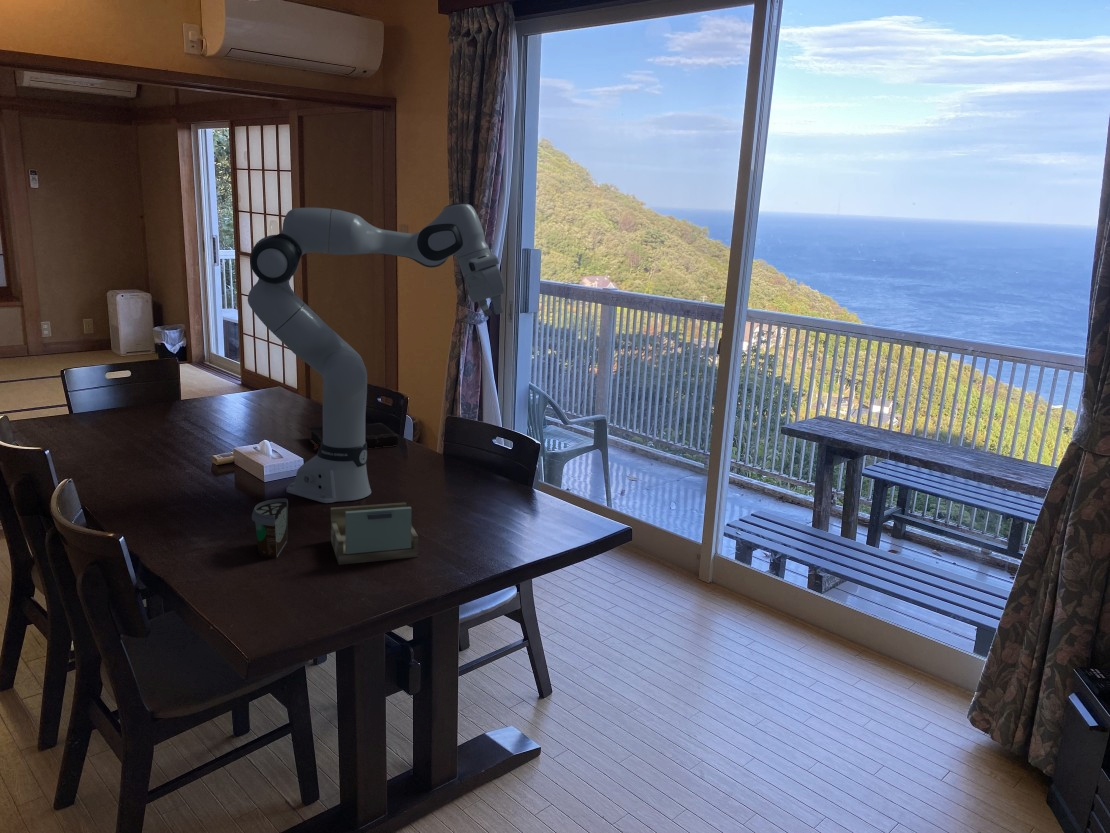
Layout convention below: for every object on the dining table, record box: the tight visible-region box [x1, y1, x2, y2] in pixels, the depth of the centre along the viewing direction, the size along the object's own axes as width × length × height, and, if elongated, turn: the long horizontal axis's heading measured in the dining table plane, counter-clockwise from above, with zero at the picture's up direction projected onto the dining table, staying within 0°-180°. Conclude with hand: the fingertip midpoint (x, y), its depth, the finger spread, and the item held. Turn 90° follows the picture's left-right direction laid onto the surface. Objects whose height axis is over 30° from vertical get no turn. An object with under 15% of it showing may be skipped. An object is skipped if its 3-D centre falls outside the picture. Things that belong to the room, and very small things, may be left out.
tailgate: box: [345, 506, 413, 554], centre depth 173 cm, size 2×14×9 cm, turn 112°
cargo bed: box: [330, 501, 419, 566], centre depth 180 cm, size 14×17×8 cm
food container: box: [251, 498, 289, 559], centre depth 176 cm, size 12×6×10 cm, turn 5°
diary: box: [307, 422, 399, 450], centre depth 264 cm, size 19×25×5 cm
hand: (493, 315), depth 211 cm, fingers open, 8 cm apart
